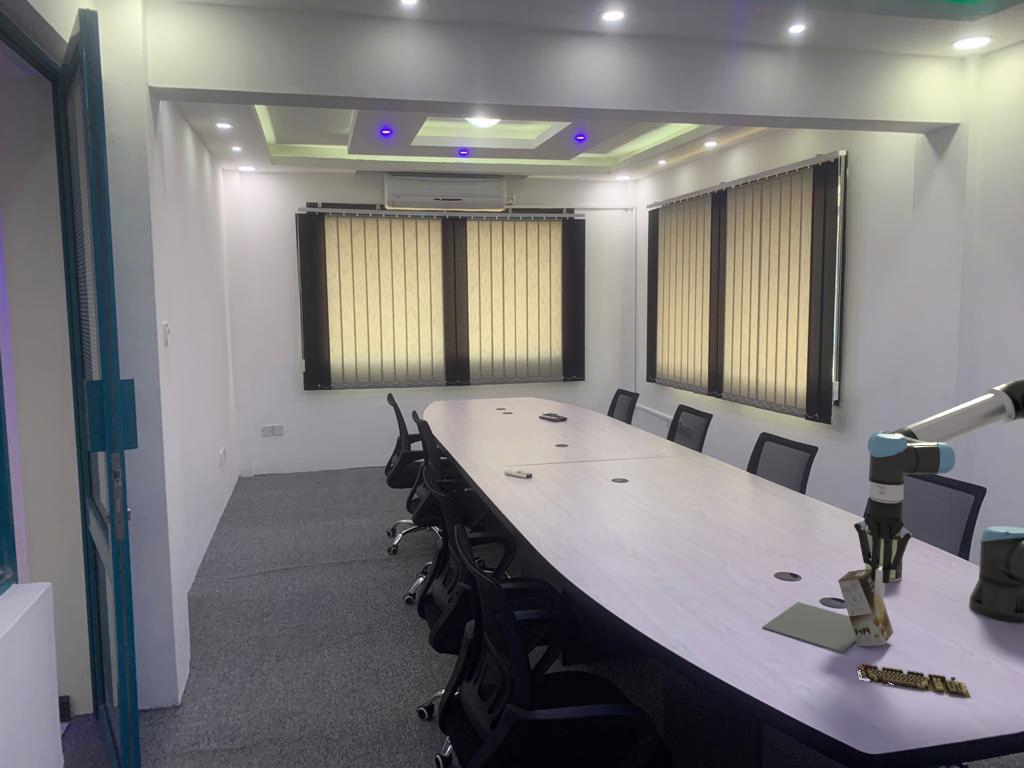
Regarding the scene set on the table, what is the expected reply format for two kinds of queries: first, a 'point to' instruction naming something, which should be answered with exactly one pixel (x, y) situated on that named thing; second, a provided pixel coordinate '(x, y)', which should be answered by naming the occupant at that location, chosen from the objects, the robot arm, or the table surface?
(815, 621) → the topple mat
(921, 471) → the robot arm
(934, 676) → the keyboard
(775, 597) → the table surface
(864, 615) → the coffee box
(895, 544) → the coffee can
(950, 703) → the table surface
